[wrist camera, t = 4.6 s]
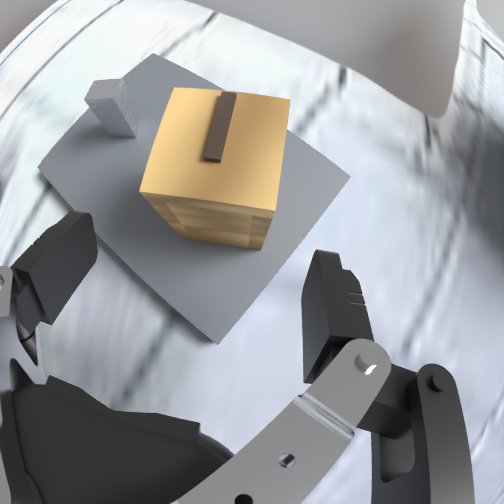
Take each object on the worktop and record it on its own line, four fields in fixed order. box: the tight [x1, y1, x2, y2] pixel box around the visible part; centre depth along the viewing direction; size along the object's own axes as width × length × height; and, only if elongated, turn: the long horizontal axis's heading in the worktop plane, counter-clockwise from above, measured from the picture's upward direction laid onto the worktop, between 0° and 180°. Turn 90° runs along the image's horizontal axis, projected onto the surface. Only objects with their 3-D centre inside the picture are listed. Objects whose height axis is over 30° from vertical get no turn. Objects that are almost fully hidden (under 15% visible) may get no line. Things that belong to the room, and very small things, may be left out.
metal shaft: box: [84, 79, 143, 138], centre depth 17 cm, size 2×2×5 cm
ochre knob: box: [139, 87, 290, 250], centre depth 14 cm, size 5×5×8 cm
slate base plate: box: [38, 53, 351, 345], centre depth 20 cm, size 20×14×2 cm
